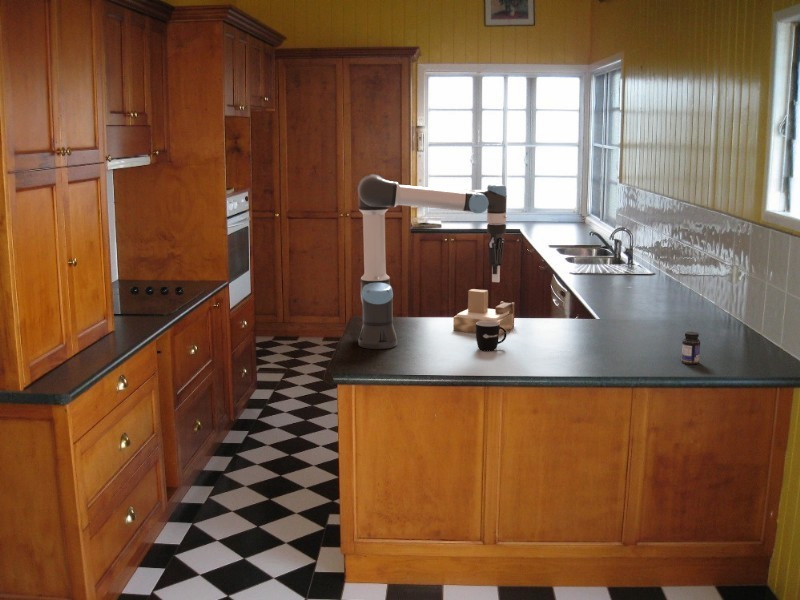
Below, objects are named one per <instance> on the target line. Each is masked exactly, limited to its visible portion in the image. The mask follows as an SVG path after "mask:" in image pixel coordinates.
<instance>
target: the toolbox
mask: <svg viewBox="0 0 800 600" xmlns="http://www.w3.org/2000/svg"><path fill="white" fill-rule="evenodd" d="M502 303H505V302H504V301H503V300H502V301H500V303H499V305H500V304H502ZM510 303H511V310H509V314H508V315H507V316H505V317H504V318H502V319H500V320H498V321H494V322H498V323H499V324H500V327H502V328H504V329H505V331H506V332H508V331H510V330H512V329H513V328H514V327H515V302H510ZM480 321H491V320H481V319H472V318H462V317H457V314H456V315H455V316H453V326H452V327H453V330H452V331H453V332H460V333H467V334H468V333H469V334H470V333H471V334H476V323H477V322H480ZM503 334H504V331H503V330H502V329H500V330H499V337H500V336H501V335H503Z"/></svg>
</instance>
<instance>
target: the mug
mask: <svg viewBox="0 0 800 600" xmlns="http://www.w3.org/2000/svg"><path fill="white" fill-rule="evenodd" d="M500 329H502V330H503V331H504V333H503V334H504V336H503V337H502V339H501V340H500V341H499V339H500V336H499V330H500ZM475 336H476V337H475V338H476V344H477V348H478V350H479V351H481V350H482V351H481V352H494V351H496V350H497V347H498V346H499V344H501V343H504V341H505V340H506V338H507V331H505V329H504V328H502V327H500V324H499V323H498V322H494V321H480V322H477V323H476V333H475Z"/></svg>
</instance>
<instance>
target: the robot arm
mask: <svg viewBox="0 0 800 600" xmlns="http://www.w3.org/2000/svg"><path fill="white" fill-rule="evenodd" d="M357 193H358V210H359V212H360V213H362V227H363V228H362V229H363V230H362V231H363V237H362V238H363V266H364V267H363V270H364V273H363V275H362V276H361V277H360V291H359V293H360V294H359V295H360V296H359V297H360V301H361V303H362V304H361V306H362V327H361V331H360V332H359V337H358V346H359V347H361V348H364V349H368V350H369V349H371V350H386V349H391V348H394V347H396V346H398V338H397V333H396V331H395V328H394V323H393V321H394V320H393V319H394V317H393V315H394V314H393V312H394V311H393V308H394V307H393V302H394V301H393V298H394V293H393V288H392V286H391V282H390V281H391V277H390V276H389V275H388V274H387V269H386V268H387V265H386V264H387V262H386V257H387V256H386V216H385V214H386V212H387V211H389V208H396V207H397V206H405V207H406V206H407V207H418V208H429V209H439V210H448V211H449V210H450V211H460V212H470V213H473V214H482V213H484V212H486V211H487V212H486V222H487V224H486V232H487V234H490V238H489V242H487V248H488V255H489V266H490V267H491V283H500V280H501V279H500V277H501V276H500V275H501V273H500V272H501V271H500V270H501V266H503V257H504V247H505V246H504V245H505V241H506V240H505V239H504V238H503V235H505V234H506V233H507V225H506V222H507V218H508V216H507V196H508V195H507V187H506V185H505V184H500V183H499V184H497V183H496V184H495V183H494V184H488V185H487V188H486V189H464V190H462V189H461V190H455V189H453V190H452V189H447V188H446V189H443V188H436V187H434V188H433V187H425V186H424V187H423V186H415V185H414V186H413V185H405V184H399V182H398V181H390V180H388V179H385V178H384V177H382V176H381V175H379V174H368V175H366V176H364V177H363V178H362V179H360V181H359V183H358V185H357Z"/></svg>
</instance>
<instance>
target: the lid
mask: <svg viewBox="0 0 800 600" xmlns="http://www.w3.org/2000/svg"><path fill="white" fill-rule="evenodd" d="M467 293H468V295H467V296H468V297H467V309H465V310H463V311H460V312H459V313H457V314H456V315H457V317H462V318H472V319H481V320H491V321H498V320H500V319H502V318H504V317H505V316H507V315H508V314H509V311H507V312H506V313H504V314H501V313H495V309H494V308H489V290H488V289H476V288H471V289H469V290H467Z"/></svg>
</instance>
